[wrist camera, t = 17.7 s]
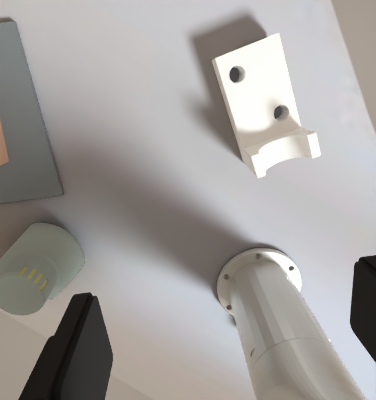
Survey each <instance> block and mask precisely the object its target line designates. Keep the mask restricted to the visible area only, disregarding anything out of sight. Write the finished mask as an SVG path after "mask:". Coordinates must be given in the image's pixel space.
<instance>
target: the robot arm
mask: <svg viewBox="0 0 376 400" xmlns="http://www.w3.org/2000/svg"><path fill="white" fill-rule="evenodd" d="M301 283H302V282H301V275H300V272H299V269H298V268H297V266H296V264H295V263H294V262H293V261H292V259H291V258H290V257H288V256H287V255H286V254H284V253H282V252H280V251H278V250H274V249H270V248H255V249H251V250H247V251H244V252H242V253H240V254H238V255H236V256H235V257H233V258H232V259H231V260H230V261H229V262H228V263H227V264H226V265H225V266H224V267H223V269H222V270H221V272H220V274H219V277H218V281H217V293H218V298H219V301H220V303H221V305H222V306H223V308H224V309H225V310H226V311H227V312H228V313H229V314H231V315H232V316H234V318H235V321H236V325H237V329H238V333H239V336H240V340H241V344H242V348H243V352H244V355H245V359H246V363H247V367H248V370H249V374H250V378H251V382H252V386H253V389H254V393H255V396H256V399H257V400H367V398H366V397H365V396H364V394H363V393H362V391H361V390H360V388H359V387H358V385H357V384H356V382H355V381H354V379H353V377H352V376H351V374H350V373H349V371H348V370H347V368H346V366H345V365H344V363H343V362H342V360H341V358H340V357H339V355H338V353H337V352H336V350H335V348H334V347H333V345H332V344H331V342H330V340H329V339H328V337H327V335H326V334H325V332H324V330H323V329H322V327H321V326H320V324H319V322H318V321H317V319H316V317H315V316H314V314H313V313H312V311H311V309H310V308H309V306H308V304H307V303H306V301H305V299H304V298H303V296H302V295H301V293H300V290H301ZM350 325H351V328H352V330H353V332H354V333H355V335H356V336H357V337H358V339H359V340H360V342H361V343H362V344H363V346H364V347H365V348H366V350H367V351H368V353H369V354H370V355H371V357H372V358H373V359H374V361H375V362H376V255H374V256H366V257H361V258H360V259H359V261H358V262H356V263H355V265H354V276H353V289H352V301H351V314H350ZM112 362H113V353H112V349H111V345H110V342H109V338H108V334H107V331H106V327H105V323H104V320H103V316H102V312H101V308H100V305H99V301H98V298H97V296H92V294H91V293H90V292H89V293H82V294H75V295H73V297H72V299H71V301H70V303H69V305H68V307H67V309H66V311H65V314H64V316H63V318H62V320H61V322H60V324H59V326H58V329H57V331H56V333H55V335H54V336H51V337H50V338H49V339H48V341H47V342H46V344H45V346H44V348H43V350H42V352H41V354H40V356H39V358H38V360H37V363H36V365H35V367H34V369H33V371H32V373H31V375H30V377H29V379H28V381H27V383H26V385H25V387H24V389H23V391H22V394H21V395H20V397H19V399H18V400H105V396H106V390H107V386H108V382H109V377H110V372H111V368H112Z"/></svg>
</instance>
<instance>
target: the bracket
mask: <svg viewBox="0 0 376 400" xmlns="http://www.w3.org/2000/svg"><path fill="white" fill-rule="evenodd" d="M211 61H212V64H213V67H214V70H215V73H216V77H217V80H218V83H219V86H220V89H221V93H222V96H223V99H224V102H225V105H226V108H227V112H228V115H229V118H230V121H231V124H232V128H233V131H234V134H235V137H236V140H237V144H238V147H239V150H240V153H241V156H242V160H243V163H244V164H245V165H246V166H247V167H248V168H249V169H250V170H251V172H252V173H253V174H254V175H255V176H256V177H257V178H260V177H263V176H266V174H265V172H266V170H267V169H268V168H269V167H271V166H272V165H274V164H276V163H279V162H281V161H284V160H287V159H291V158H297V157H309V158H312V159H313V158H315V157H318V156H321V153H320V148H319V144H318V139H317V135H316V132H313V131H310V130H307V129H305V128H302V127H301V125H300V120H299V116H298V112H297V108H296V103H295V99H294V95H293V90H292V86H291V82H290V78H289V73H288V69H287V65H286V61H285V56H284V52H283V48H282V43H281V39H280V35H279V33H277V34H274V35H272V36H269V37H267V38H264V39H262V40H259V41H257V42H254V43H252V44H249V45H247V46H244V47H242V48H239V49H237V50H234V51H232V52H229V53H227V54H224V55H222V56H219V57H217V58H215V59H213V60H211ZM233 67H235V68H236V69H237V70H238V71H239V79H238V80H237V81H236V82H235V83H234V82H232V81H231V80H230V77H229V72H230V70H231V69H232V68H233ZM278 106H281V109H282V112H281V115H280V116H279V117H278V118H276V119H275V117H274V110H275V109H276V108H277V107H278Z"/></svg>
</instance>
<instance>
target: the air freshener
mask: <svg viewBox="0 0 376 400" xmlns="http://www.w3.org/2000/svg"><path fill="white" fill-rule="evenodd" d="M84 263H85V257H84V253H83V250H82V248H81V246H80V244H79V243H78V241H77V240H76V239H75V238H74V237H73V236H72V235H71V234H70V233H69V232H67V231H66V230H64V229H62V228H61V227H58V226H56V225H52V224H48V223H33V224H32V225H31V226H30V227H29V228H28V229H27V230H26V231H25V232H24V233H23V234H22V235H21V236H20V237H19V238H18V239H17V240H16V242H15V243H14V244H13V245H12V246H11V247H10V248H9V249H8V250H7V251H6V253H5V254H4V255H3V256H2V257H1V258H0V308H1V309H3V310H4V311H6V312H8V313H11V314H15V315H29V314H33V313H35V312H37V311H38V310H40V309H41V308H42V306H43V305H44V303H45V302H46V300H50V299H53V298H54V297H55V296H57V295H58V294H59V293H60V292H61V291H62V290H63V289H64V288H65V287H66V286H67V285H68V284H69V283H70V282H71V280H72V279H73V278H74V277H75V276H76V275H77V273H78V272H79V271H80V269H81V268H82V267H83V265H84Z"/></svg>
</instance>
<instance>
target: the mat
mask: <svg viewBox="0 0 376 400" xmlns="http://www.w3.org/2000/svg"><path fill="white" fill-rule="evenodd" d="M0 120H1V125H2V130H3V135H4V139H5V144H6V149H7V154H8V159H9V162H7V163H5V164H3V165H1V166H0V203H8V202H15V201H23V200H31V199H39V198H46V197H54V196H62V195H63V194H64V193H63V190H62V186H61V183H60V179H59V175H58V172H57V168H56V165H55V161H54V157H53V154H52V150H51V147H50V143H49V139H48V136H47V132H46V129H45V125H44V121H43V118H42V114H41V111H40V107H39V104H38V100H37V96H36V93H35V89H34V86H33V82H32V78H31V75H30V71H29V68H28V64H27V60H26V57H25V53H24V50H23V46H22V42H21V39H20V35H19V32H18V28H17V25H16V22H14V21H10V22H2V23H0Z"/></svg>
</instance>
